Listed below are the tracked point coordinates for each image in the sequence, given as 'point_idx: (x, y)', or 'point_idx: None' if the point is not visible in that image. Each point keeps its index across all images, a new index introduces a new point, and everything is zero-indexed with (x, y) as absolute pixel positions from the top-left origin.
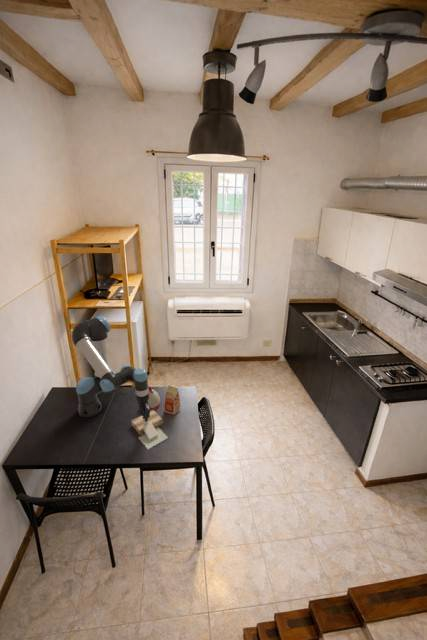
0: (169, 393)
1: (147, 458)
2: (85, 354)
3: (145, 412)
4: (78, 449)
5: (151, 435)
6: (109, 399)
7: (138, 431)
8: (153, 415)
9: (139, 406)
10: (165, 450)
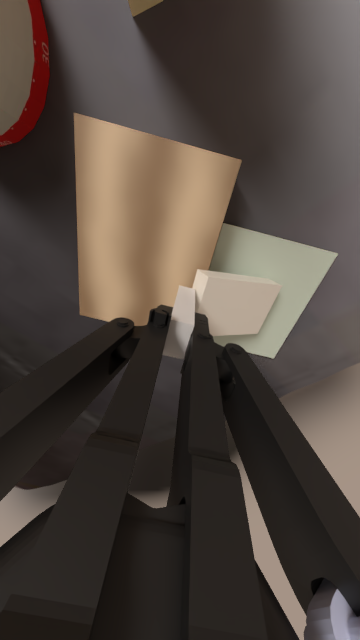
0: None
1: (296, 381)
2: None
3: (252, 475)
4: (84, 438)
5: (255, 318)
6: None
7: None
8: (142, 180)
9: (62, 428)
10: (357, 321)
